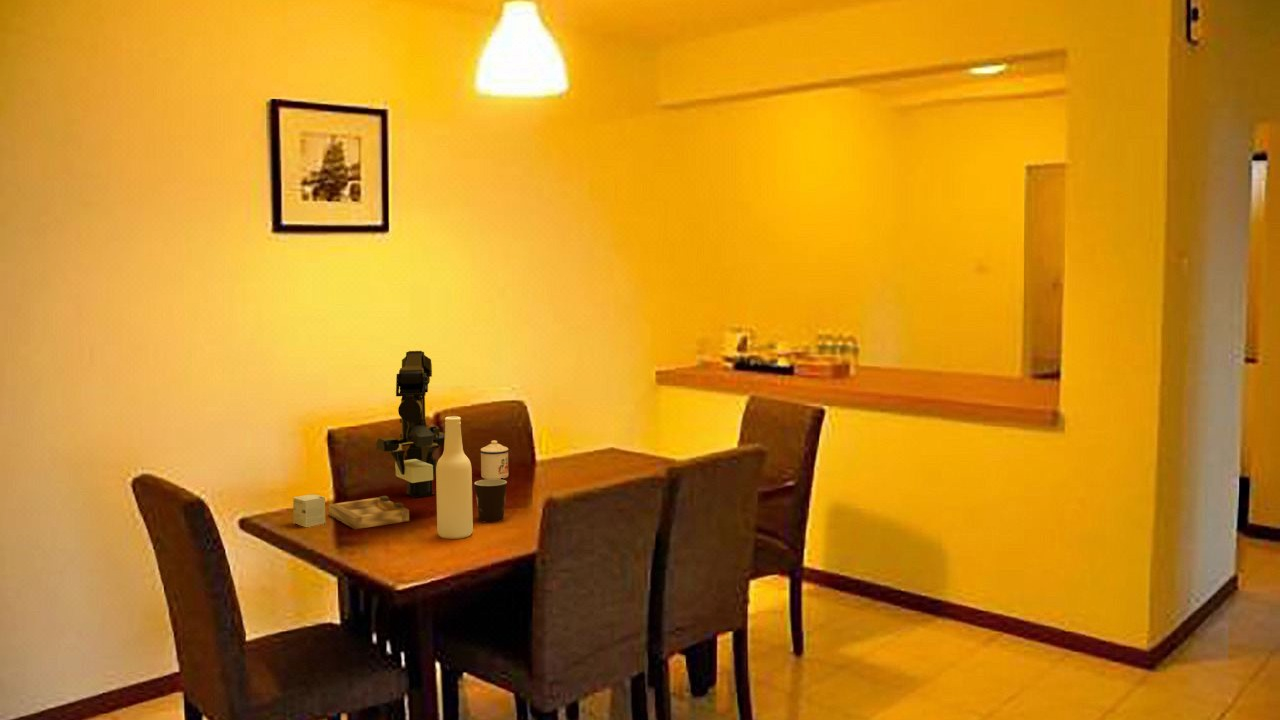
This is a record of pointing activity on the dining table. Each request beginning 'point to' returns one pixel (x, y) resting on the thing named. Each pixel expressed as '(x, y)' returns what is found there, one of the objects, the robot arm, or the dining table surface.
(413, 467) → the cream rectangular block
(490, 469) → the teacup with lid
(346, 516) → the carcass
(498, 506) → the coffee mug
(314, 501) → the skincare box
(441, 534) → the alcohol
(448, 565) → the dining table surface
